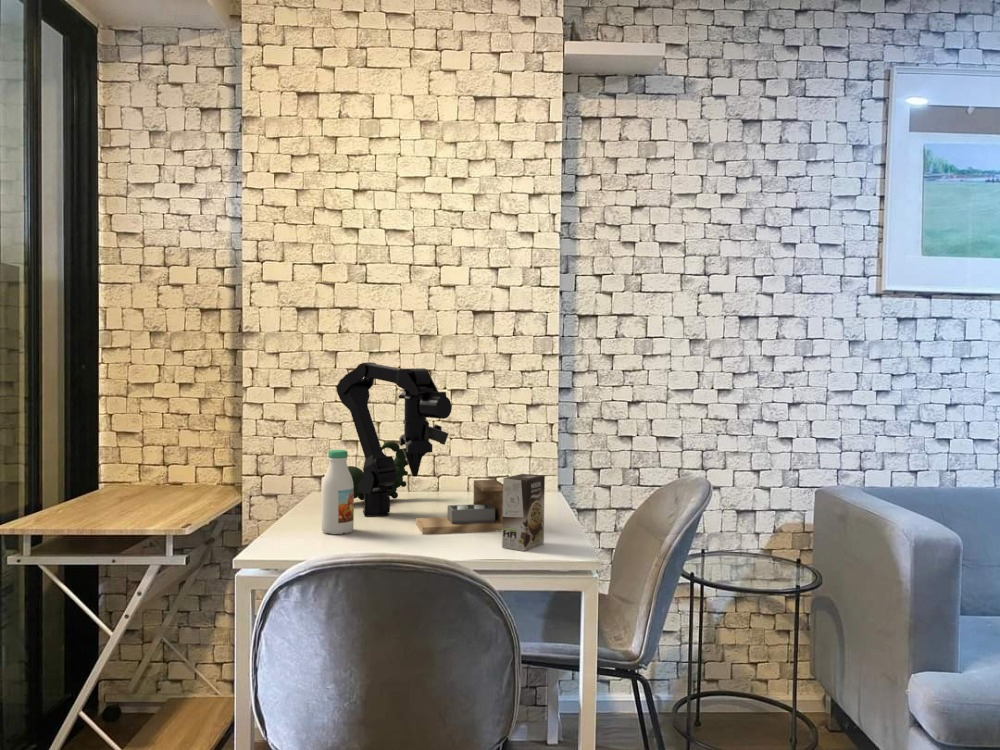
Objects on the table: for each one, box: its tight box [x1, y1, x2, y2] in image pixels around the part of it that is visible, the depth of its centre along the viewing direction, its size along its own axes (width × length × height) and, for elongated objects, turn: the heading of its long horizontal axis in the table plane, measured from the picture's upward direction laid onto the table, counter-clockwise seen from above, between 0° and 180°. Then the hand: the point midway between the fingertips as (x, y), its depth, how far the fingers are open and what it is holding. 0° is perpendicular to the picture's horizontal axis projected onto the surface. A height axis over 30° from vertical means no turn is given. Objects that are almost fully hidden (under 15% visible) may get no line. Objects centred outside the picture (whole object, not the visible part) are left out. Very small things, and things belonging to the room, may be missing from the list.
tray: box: [446, 504, 495, 524], centre depth 200 cm, size 11×6×4 cm, turn 104°
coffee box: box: [501, 473, 546, 552], centre depth 181 cm, size 9×6×16 cm
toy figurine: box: [347, 440, 409, 501], centre depth 231 cm, size 9×19×25 cm
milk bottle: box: [321, 449, 355, 535], centre depth 193 cm, size 8×8×20 cm
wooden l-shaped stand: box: [415, 479, 503, 535], centre depth 200 cm, size 21×11×11 cm, turn 104°
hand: (415, 476), depth 205 cm, fingers closed
